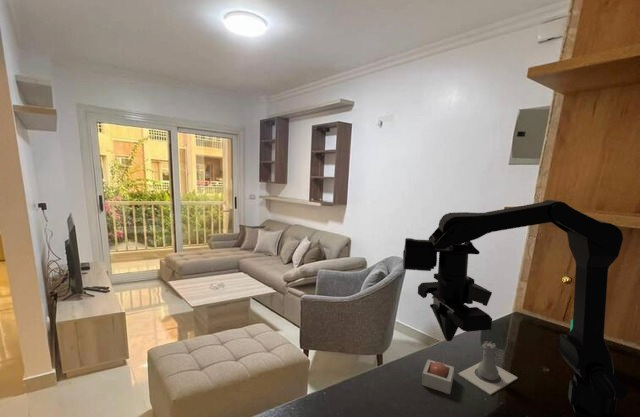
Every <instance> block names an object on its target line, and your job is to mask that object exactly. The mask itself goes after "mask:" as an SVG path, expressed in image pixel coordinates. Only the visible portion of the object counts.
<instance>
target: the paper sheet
mask: <svg viewBox="0 0 640 417" xmlns="http://www.w3.org/2000/svg"><path fill="white" fill-rule="evenodd" d="M481 362H482V361H480V362H477V363H476V364H474V365H472V366H470V367H468V368H466V369H464V370H462V371H459V372H458V373H457V375H458V376H460V377H461V378H462V379H465V381H468V382H469V383H471V385H473V386H475V387H476V388H478V389H480V390H481V391H483V392H484V393H486V394H488V395H489V396H491V395H493V394H494V393H496V392H498V391H500V390H501V389H504V388H505V387H506V386H508V385H510V384H511V383H513V382H515V381H516V380H518V377H517V376H516V375H514V374H512V373H510V372H509V371H507V370H505V369H503V368H501V367H500V366H497V365H496V367H497V369H498V372H499V373H498V376H499V377H498V378H497V379H496V380H487V379H484V378H483V377H481V376H480V374H479V373H478V369H479V368H478V366H479V364H480V363H481Z"/></svg>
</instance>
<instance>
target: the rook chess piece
mask: <svg viewBox="0 0 640 417" xmlns="http://www.w3.org/2000/svg"><path fill="white" fill-rule="evenodd" d="M481 347H482V348H483V351H482V354H483V356H482V360H481V361H480V362H481V363H480V362H479V363H480V364H479V366H478V368H479V369H478V373H479V374H480V376H481V377H483V378H484V379H487V380H496V379H497V378H498V377H499V376H498V373H499V372H498V369H497V367H496V366H497V364H496V357H497V354H496V353H497V352H498V350H499V349H498V347H497V344H496V343H495V342H492V341H489V340H486V341H483V344H482V345H481Z"/></svg>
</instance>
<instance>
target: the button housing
mask: <svg viewBox="0 0 640 417" xmlns="http://www.w3.org/2000/svg"><path fill="white" fill-rule="evenodd" d="M432 363H441V364H443V365H445V366H446V368H447V378H444V377H440V376H437V375H434V374H431V373H430V366H431V364H432ZM454 373H455V366H451V365H449V364H445V363H443V362H438V361H434V360H432V359H429V358H428V359H427V361H426V363H425V365H424V367H423V371H422V373H421V375H422V376H421V377H422V379H421V385H422V386H424V387H427V388H430V389H431V390H432V389H433V390H436V391H439V392H442V393H444V394H447V395H451V391H452V386H453V384H454V383H453V382H454V375H455V374H454Z"/></svg>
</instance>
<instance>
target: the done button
mask: <svg viewBox="0 0 640 417" xmlns="http://www.w3.org/2000/svg"><path fill="white" fill-rule="evenodd" d="M441 363H442V362H439V363H432V364H431V366H430V373H431V374H434V375H437V376H440V377H444V378H447V368H446V366H445V365H443V364H444V363H442V364H441Z"/></svg>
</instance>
